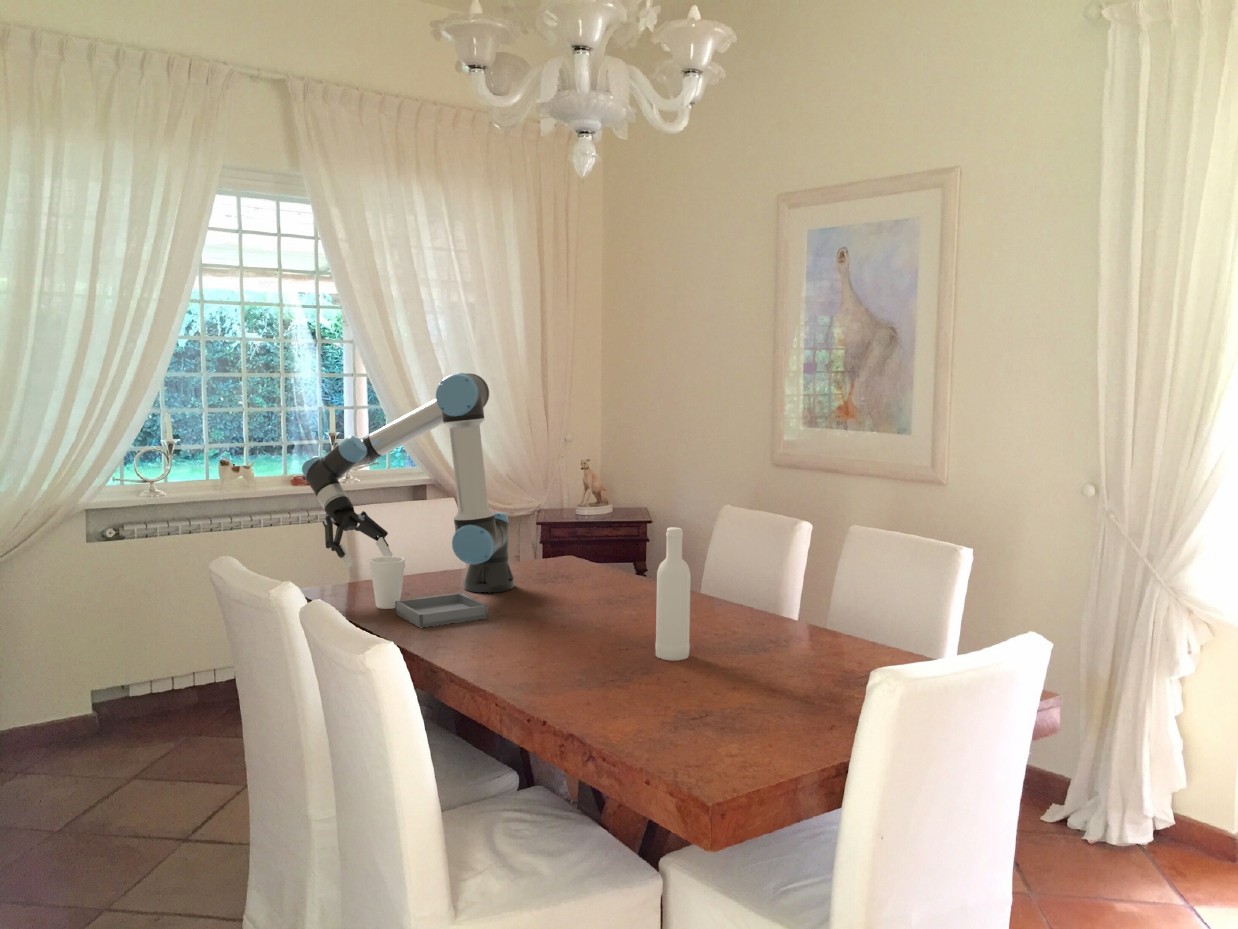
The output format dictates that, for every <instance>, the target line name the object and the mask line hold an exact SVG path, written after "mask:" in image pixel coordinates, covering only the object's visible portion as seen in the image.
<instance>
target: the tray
mask: <svg viewBox="0 0 1238 929" xmlns="http://www.w3.org/2000/svg"><path fill="white" fill-rule="evenodd" d="M488 607H489V606H488V604H486V603H483V602H480V601H479V600H477V599H474V598H473V597H470V596H468V595H466V594H463V593H462V592H456V593H448V594H442V595H434V596H433V595H432V596H425V597H424V596H423V597H418V598H410V599H403V600H401V599H400V601H395V608H394V610H395V615H396V616H398V617H400V618H401V617H402V619H403V620H405V619H406V620H405V621H407V620H408V621H409V622H408V621H407V622H408V623H410V624H412V623H413V624H415V625H416V626H415V625H414V626H415V627H417V626H419V627H427V626H433V627H438V626H439V625H440V626H447V625H451V624H450V623H454V624H460V623H467V622H473V620H474V621H479V620H478V619H481V620H486V619H489V617H488V616H489V615H488V614H489V612H488V611H489V610H488V609H489V608H488ZM466 621H467V622H466ZM413 624H412V625H413ZM444 624H445V625H444ZM446 624H447V625H446ZM427 628H428V627H427Z"/></svg>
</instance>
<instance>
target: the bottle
mask: <svg viewBox="0 0 1238 929" xmlns="http://www.w3.org/2000/svg"><path fill="white" fill-rule="evenodd" d="M665 537H666V546H665V547H666V551H665V552H666V558H664V560H662V562H660V563H659V565H658V569H657V570H656V606H655V608H656V611H655V613H656V616H655V618H656V622H655V645H654V646H655V647H654V648H655V657H657V658H658V659H660V658H661V659H660V660H664V661H672V662H673V661H674V662H676V661H684V660H686V659H688V658H689V657H690V649H691V646H690V645H691V644H690V627H691V626H690V624H691V623H690V621H691V620H690V619H691V581H692V580H691V574H692V573H691V571H690V568H689V564H688V563H687V562H686V561H685V560H684V559H683V537H684V533H683V528H681V527H676V526H675V527H674V526H673V527H672V526H671V527H667V529H666V532H665Z"/></svg>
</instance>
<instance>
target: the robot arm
mask: <svg viewBox="0 0 1238 929" xmlns="http://www.w3.org/2000/svg"><path fill="white" fill-rule="evenodd" d="M489 399H490V388H489V386H488V384H487V381H486V380H485V379H483V378H482V377H481V376H480V375H478V374H476V373H466V372H465V373H464V372H456V373H452V374H450V375H448V376H445V377H444V378H443V379H442V380H441V381H440V382H439V384H438V386H437V388H436V390H435V398H434V399H432V400H431V401H429V402H427V403H425V404H423V405H422V406H419V407H418V408H415V409H413V410H412V411H410V412H408V413H407V414H404V415H403V416H401V417H399V418H398V419H395V420H394V421H392V422H390V423H388V424H386V425H384V426H383V427H381V428H379V429H377V430H375V431H373V432H371V433H370V434H368V435H366V436H364V437H362V438H359V437H357V436H355V435H348V436H347V437H345V438H344V439H342V440H341V441H340V442H339V444H337V445H336V446H335V447H334V448H332V450H331V451H330V452H328V453H327V454H326V455H325V456H321V455H315V456H313V457H311V458H308V459H307V460H305V462H303V464H302V466H301V472H302V474H303V476H304V478H305V481H306V482H307V484H308V485H309V487H310V488H311V490H312V491H313V492H314V495H315V496H316V499H317V500H318V502H319V504H320V505H321V507H322V508H323V509H324V512H325V514H326V515H327V516H326V517H325V518H324V520H323V521H322V525H323V527H324V539H325V540H324V541H325V544H324V545H325V548H326V549H327V550H328V549H330V550H331V551H332V552H335V553H336V554H337V556H338V557H339V558H340V559H341V560H342V562H343V563H344V565H345V566H346V568H347V569H350V568H351V567H352V566H353V564H354V563H355V561H354V559H353V557H352V556H351V554H350V553H349V551H348V549H347V548H346V545H344V543H341V540H342V537H343V535H344V532H348V531H356V532H361V533H362V534H364V535H366V536H367V537H369V538H370V539H373V540H374V541H375V545H376V546H377V547H378V550H379V551H380V553H381V554H382V557H393V553H392V551H391V550H390V546H389V544H388V542H387V541H386V539H385V538H386V537H387V536H388V534H389V533H388V531H387V530H386V529H385V528H383V527H382V526H380V525H379V524H378V523H377V522H376V521H375V520H374V519H372V518H371V517H370V516H369V515H368V513H367V512H366V511H361V512H360V513H356V512H355V507H354V505H353V503H352V501H351V499H350V498H349V497H348V494H347V493H346V491H345V490H344V488H343V487H342V485H341V483H340V480H339V479H341V478H342V477H344V475H345V474H347V473H348V472H349V471H350V470H351V469H353V468H355V467H356V468H357V467H360V466H363V465H364V466H365V465H366V466H367V465H370V464H372V463H374V462H375V461H377V459H379V458H381V457H382V456H384V455H386V454H389V453H390V452H391V451H394V450H396V449H398V448H400V447H401V446H403V445H405V444H407V443H409V442H411V441H412V440H415V439H417V438H419V437H420V436H422V435H425V434H426V433H428V432H430V431H431V430H433V429H436V428H438V427H439V426H441V425H443V424H444V425H445V426H446V427H447V428H448V429H449V435H450V436H449V438H450V447H451V455H452V463H453V464H452V465H453V474H454V482H455V483H454V484H455V491H456V501H457V510H458V512H456V514H455V516H454V517H453V522H454V531H455V532H454V534H453V535H452V539H451V540H452V541H451V547H452V548H451V549H452V551H453V553H454V555H455V556H456V557H457V559H459V560H460V561H461V562H463V563H465V564H467V565H468V567H467V569H466V572H465V576H464V579H463V589H464V590H466V591H468V592H473V593H481V592H485V593H486V592H488V593H490V594H491V592H493V593H501V592H507V591H511V590H513V589H514V588H515V579H514V575H513V573H512V569H511V565H510V563H509V526H510V522H509V516H508V514H507V513H506V512H495V511H492V510H491V509H490V507H489V501H488V498H489V497H488V490H487V480H486V473H485V472H486V471H485V465H484V464H485V463H484V462H485V461H484V455H483V453H484V452H483V445H482V444H483V443H482V435H481V424H482V423H483V421H485V413H484V408H485V406H486V405H487V404H488V401H489ZM333 526H335V527H336V530H335V535H334V527H333ZM485 593H484V594H485ZM488 593H487V594H488Z"/></svg>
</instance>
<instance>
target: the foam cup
mask: <svg viewBox="0 0 1238 929" xmlns="http://www.w3.org/2000/svg"><path fill="white" fill-rule="evenodd" d="M405 568H406V558H404V557H402V556H401V557H400V556H392V557H384V556H379V557H374V558H372V559H369V570H370V572H371V579H372V580H371V581H372V587H373V594H374V601H375V606H376V608H377V609H383V610H384V609H386V610H387V609H395V601H401V599H402V590H403V582H404V574H405V573H404V572H405Z"/></svg>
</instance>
